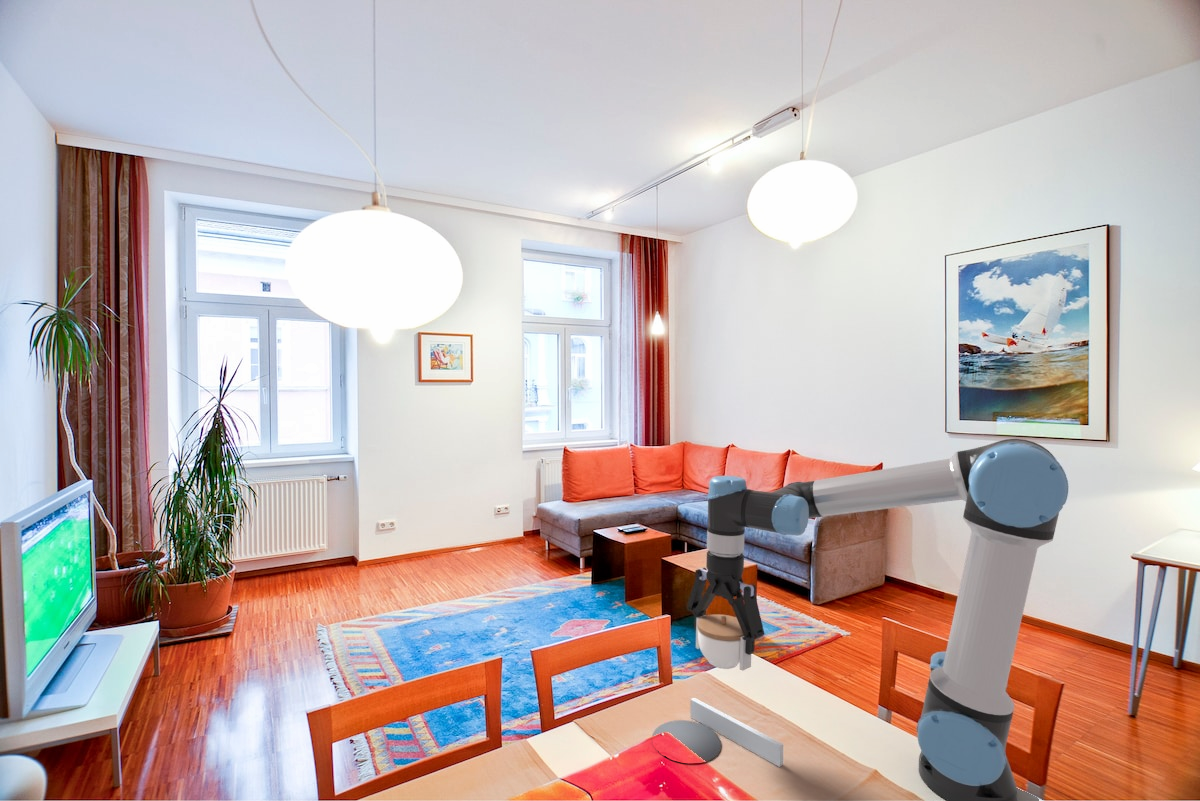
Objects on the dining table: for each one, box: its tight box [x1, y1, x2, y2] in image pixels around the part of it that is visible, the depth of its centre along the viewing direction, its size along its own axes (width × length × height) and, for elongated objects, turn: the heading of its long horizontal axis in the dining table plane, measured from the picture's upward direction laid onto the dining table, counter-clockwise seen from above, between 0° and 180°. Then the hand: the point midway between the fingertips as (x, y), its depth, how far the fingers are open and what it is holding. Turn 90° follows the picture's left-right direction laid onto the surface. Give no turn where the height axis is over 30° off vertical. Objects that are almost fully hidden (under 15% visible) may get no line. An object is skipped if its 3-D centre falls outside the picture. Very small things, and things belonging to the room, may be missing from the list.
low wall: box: [689, 697, 784, 768], centre depth 117 cm, size 22×1×4 cm, turn 41°
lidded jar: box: [697, 613, 744, 670], centre depth 118 cm, size 11×11×9 cm
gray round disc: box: [651, 719, 722, 763], centre depth 117 cm, size 14×14×1 cm
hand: (722, 656), depth 118 cm, fingers closed on lidded jar, 11 cm apart
